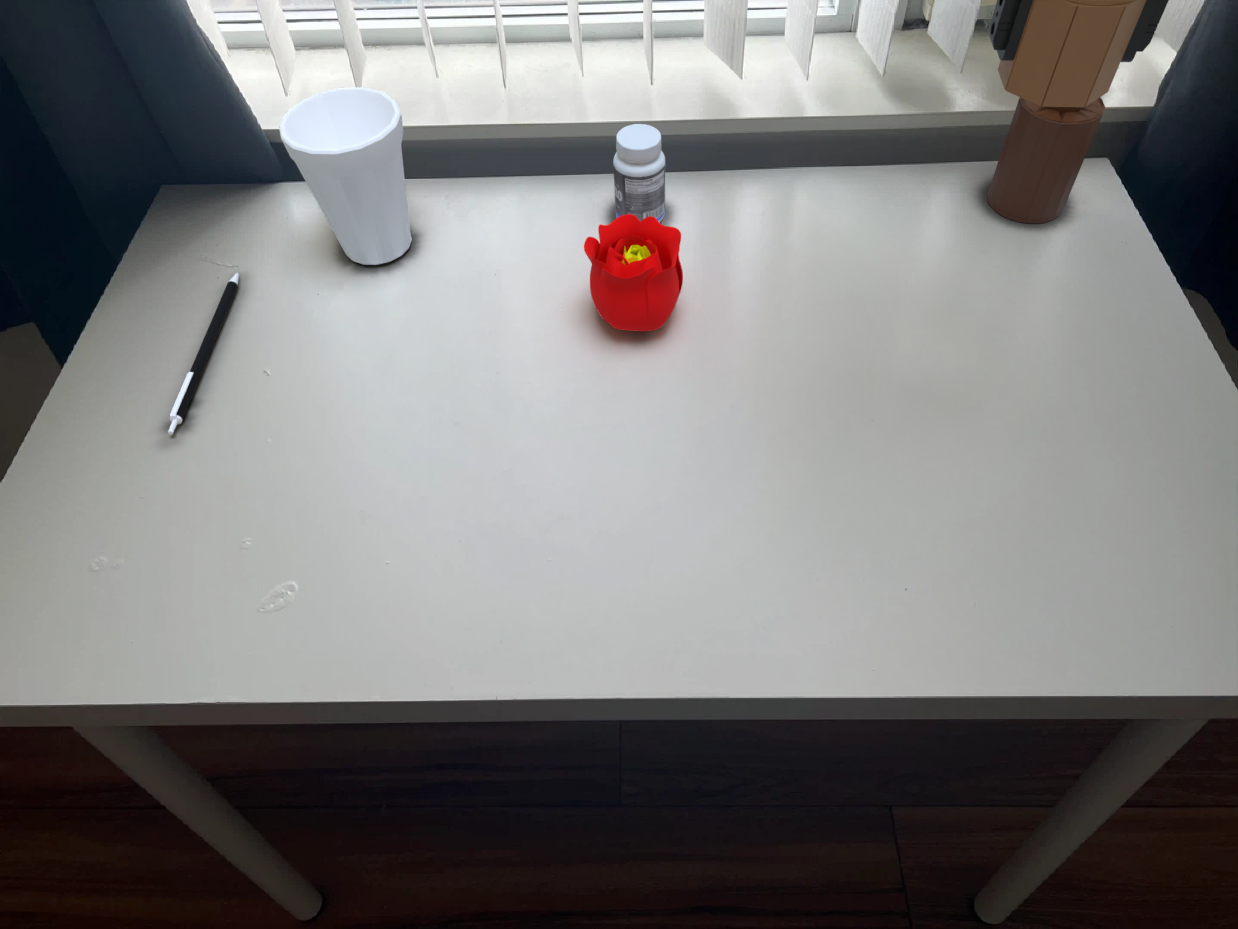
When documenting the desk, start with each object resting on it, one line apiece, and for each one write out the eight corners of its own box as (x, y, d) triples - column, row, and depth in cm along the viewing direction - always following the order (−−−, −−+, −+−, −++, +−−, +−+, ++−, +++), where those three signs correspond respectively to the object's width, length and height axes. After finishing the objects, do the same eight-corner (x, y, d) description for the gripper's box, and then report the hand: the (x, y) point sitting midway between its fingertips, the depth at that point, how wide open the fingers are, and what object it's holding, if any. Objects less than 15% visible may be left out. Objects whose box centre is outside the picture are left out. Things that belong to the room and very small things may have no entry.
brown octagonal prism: (1091, 55, 54) (1133, -52, 49) (1116, 107, 50) (1163, -2, 46) (992, 54, 54) (1024, -52, 50) (1010, 106, 51) (1046, -3, 46)
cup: (346, 296, 80) (299, 166, 69) (311, 236, 85) (262, 108, 75) (449, 256, 82) (419, 127, 72) (409, 201, 88) (375, 73, 78)
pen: (167, 436, 70) (160, 427, 69) (235, 276, 82) (230, 266, 81) (178, 436, 70) (172, 427, 69) (244, 276, 82) (240, 266, 81)
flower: (576, 306, 78) (568, 230, 71) (652, 274, 80) (651, 198, 73) (621, 361, 73) (617, 285, 67) (700, 326, 75) (704, 250, 69)
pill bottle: (616, 200, 87) (612, 121, 80) (665, 200, 87) (665, 120, 80) (614, 231, 84) (610, 151, 77) (665, 230, 84) (665, 150, 77)
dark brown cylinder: (1055, 181, 86) (1112, 36, 75) (1070, 224, 82) (1133, 78, 71) (982, 179, 87) (1028, 35, 76) (993, 222, 82) (1044, 76, 72)
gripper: (1046, -309, 36) (942, 88, 49) (1426, -317, 35) (1215, 91, 48) (1012, -351, 41) (924, 22, 54) (1346, -359, 40) (1173, 23, 53)
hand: (1062, 53), depth 51 cm, fingers closed on brown octagonal prism, 5 cm apart
